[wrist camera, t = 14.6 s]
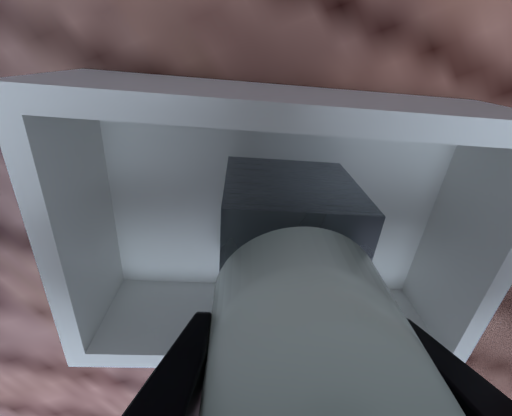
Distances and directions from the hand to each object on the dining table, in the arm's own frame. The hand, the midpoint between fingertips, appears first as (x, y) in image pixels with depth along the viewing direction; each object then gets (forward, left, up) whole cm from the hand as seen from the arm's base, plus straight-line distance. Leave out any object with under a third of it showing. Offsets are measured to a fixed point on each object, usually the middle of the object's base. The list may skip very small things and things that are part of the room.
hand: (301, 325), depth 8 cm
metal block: (0, 0, -7) cm, 7 cm away
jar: (0, 0, -1) cm, 1 cm away
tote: (0, 0, -8) cm, 8 cm away
